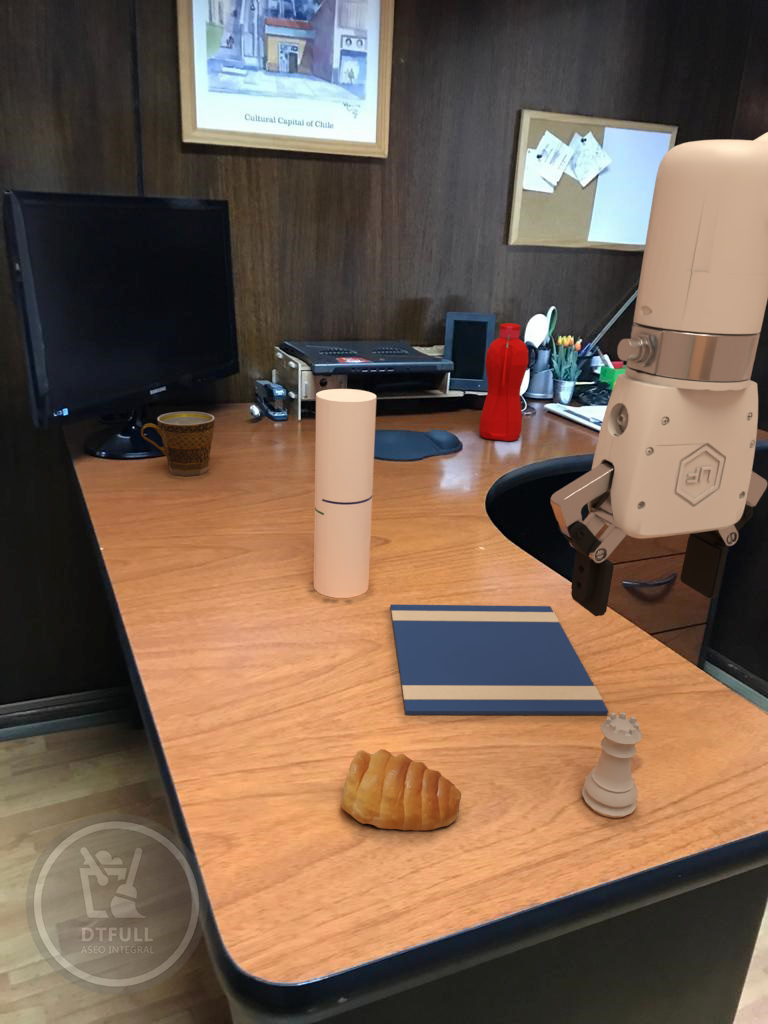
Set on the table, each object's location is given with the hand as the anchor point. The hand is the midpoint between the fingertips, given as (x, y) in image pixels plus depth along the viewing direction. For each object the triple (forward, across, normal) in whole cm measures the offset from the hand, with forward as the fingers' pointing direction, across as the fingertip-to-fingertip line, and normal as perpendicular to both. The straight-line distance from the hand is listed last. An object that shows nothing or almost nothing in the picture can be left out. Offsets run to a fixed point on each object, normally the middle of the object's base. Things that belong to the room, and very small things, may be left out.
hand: (644, 598), depth 55 cm
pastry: (+20, -15, +7) cm, 26 cm away
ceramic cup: (+20, -20, +99) cm, 103 cm away
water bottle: (+20, +51, +108) cm, 121 cm away
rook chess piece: (+20, +2, +2) cm, 20 cm away
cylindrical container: (+20, -7, +47) cm, 51 cm away
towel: (+20, +3, +26) cm, 33 cm away
